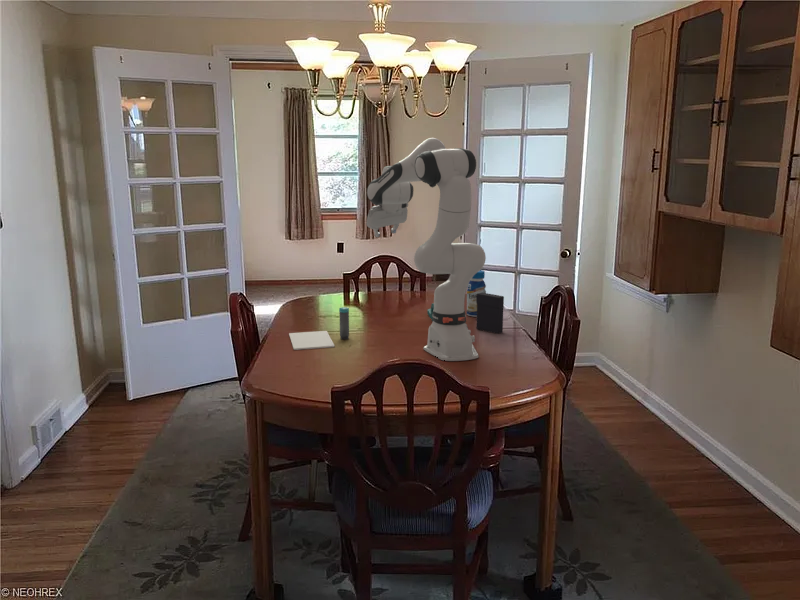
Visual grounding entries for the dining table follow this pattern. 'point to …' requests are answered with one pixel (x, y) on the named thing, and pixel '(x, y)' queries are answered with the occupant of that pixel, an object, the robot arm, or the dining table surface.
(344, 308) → the marker
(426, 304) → the dining table surface
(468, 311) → the beverage bottle
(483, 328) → the upright charcoal panel
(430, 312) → the bracket
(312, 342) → the paper
